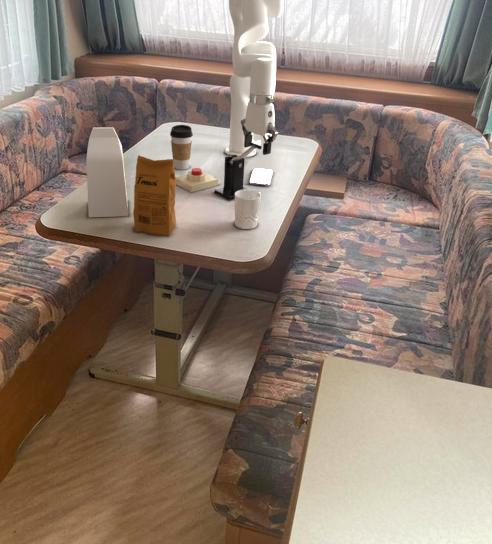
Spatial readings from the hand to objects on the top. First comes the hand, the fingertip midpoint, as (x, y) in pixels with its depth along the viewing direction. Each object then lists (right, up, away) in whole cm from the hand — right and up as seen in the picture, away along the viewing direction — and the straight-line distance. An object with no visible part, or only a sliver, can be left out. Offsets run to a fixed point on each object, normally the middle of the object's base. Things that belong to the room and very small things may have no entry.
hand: (257, 150), depth 196 cm
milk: (-48, -22, -14) cm, 54 cm away
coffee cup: (-27, -2, +22) cm, 35 cm away
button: (-21, -7, +6) cm, 23 cm away
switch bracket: (-8, -15, +1) cm, 17 cm away
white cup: (-5, -27, -20) cm, 34 cm away
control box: (-21, -10, +7) cm, 25 cm away
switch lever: (-4, -3, -2) cm, 6 cm away
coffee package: (-32, -29, -24) cm, 49 cm away
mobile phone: (+2, -7, +15) cm, 16 cm away
